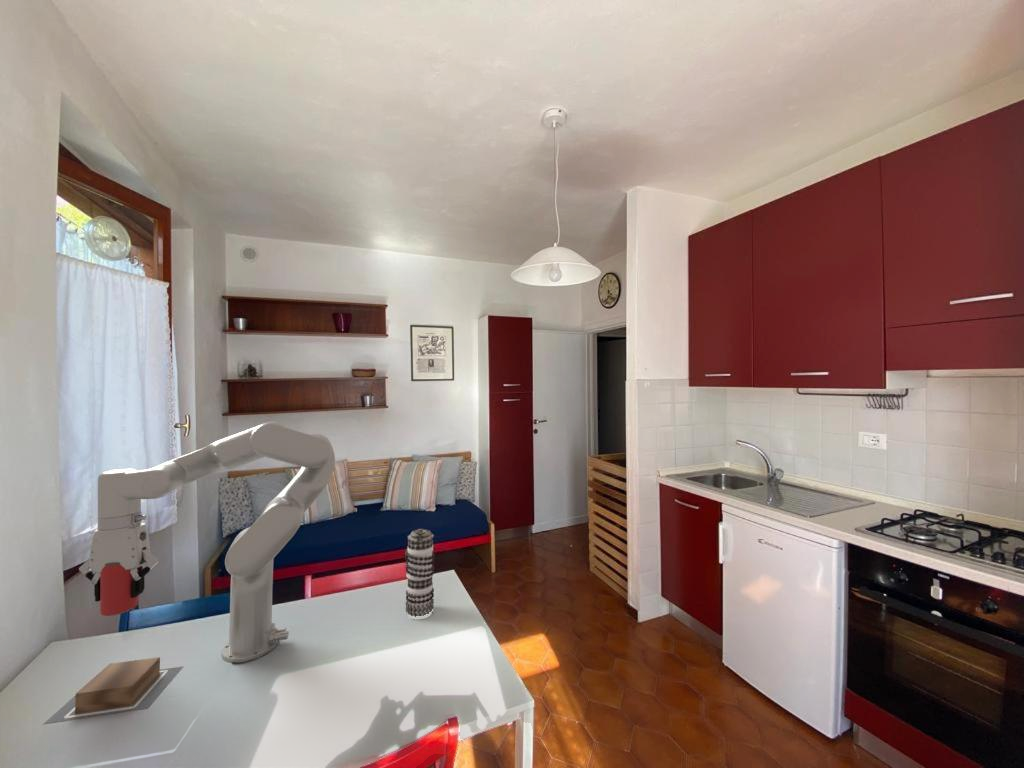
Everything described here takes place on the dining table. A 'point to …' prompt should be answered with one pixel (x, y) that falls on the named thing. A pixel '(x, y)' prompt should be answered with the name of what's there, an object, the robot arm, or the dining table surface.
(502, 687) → the dining table surface
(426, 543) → the decorative candle
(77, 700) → the walnut base block
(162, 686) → the grey mat
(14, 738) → the dining table surface
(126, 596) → the beer can
